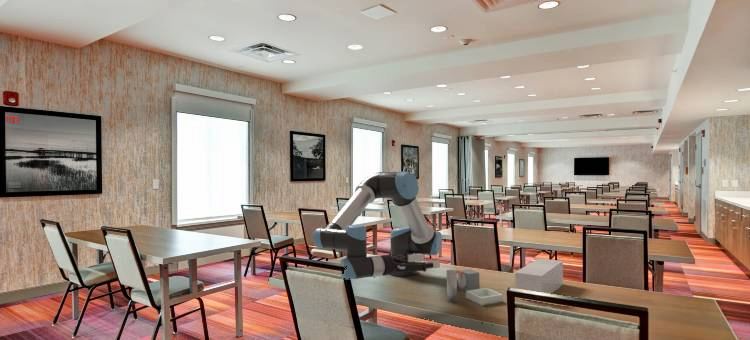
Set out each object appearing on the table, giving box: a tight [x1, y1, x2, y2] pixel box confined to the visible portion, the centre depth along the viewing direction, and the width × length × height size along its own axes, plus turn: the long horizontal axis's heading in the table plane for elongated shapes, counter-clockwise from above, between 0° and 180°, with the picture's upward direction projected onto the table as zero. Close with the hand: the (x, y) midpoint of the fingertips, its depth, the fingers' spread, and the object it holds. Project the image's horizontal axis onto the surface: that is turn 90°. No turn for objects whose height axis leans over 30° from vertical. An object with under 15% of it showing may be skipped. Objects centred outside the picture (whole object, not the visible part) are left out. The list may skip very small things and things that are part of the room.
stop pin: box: [446, 269, 458, 303], centre depth 175 cm, size 4×4×12 cm
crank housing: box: [455, 268, 481, 293], centre depth 190 cm, size 7×8×9 cm
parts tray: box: [465, 287, 504, 307], centre depth 175 cm, size 10×10×3 cm
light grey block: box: [514, 258, 564, 294], centre depth 187 cm, size 32×11×11 cm, turn 143°
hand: (430, 260), depth 172 cm, fingers open, 13 cm apart
